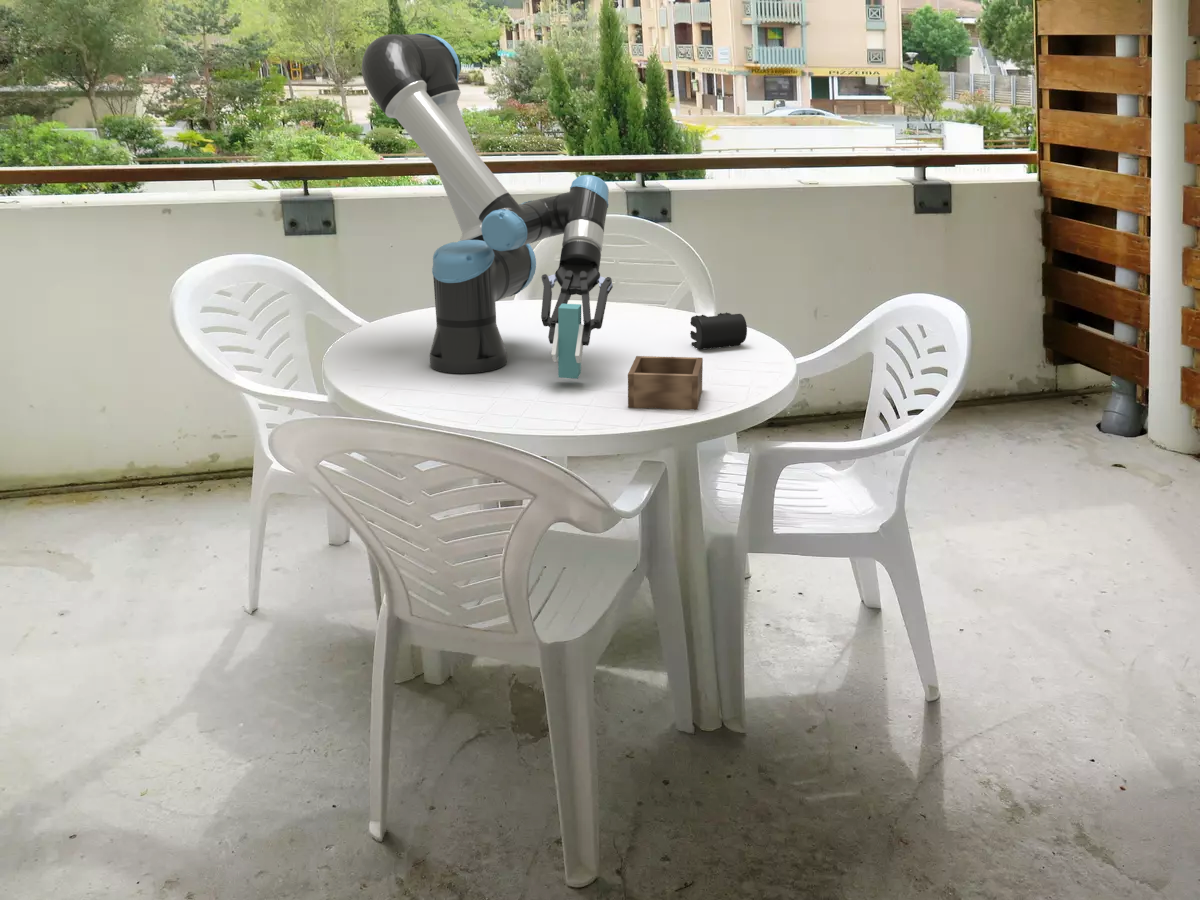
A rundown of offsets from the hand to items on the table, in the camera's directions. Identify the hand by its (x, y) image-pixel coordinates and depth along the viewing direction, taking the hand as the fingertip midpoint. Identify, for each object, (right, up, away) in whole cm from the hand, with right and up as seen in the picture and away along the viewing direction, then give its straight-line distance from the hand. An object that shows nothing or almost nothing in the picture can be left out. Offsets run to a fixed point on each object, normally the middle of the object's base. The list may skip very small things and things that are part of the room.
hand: (566, 358), depth 211 cm
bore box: (+18, -7, -3) cm, 20 cm away
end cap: (+30, +4, +30) cm, 43 cm away
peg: (+1, -3, +5) cm, 6 cm away
